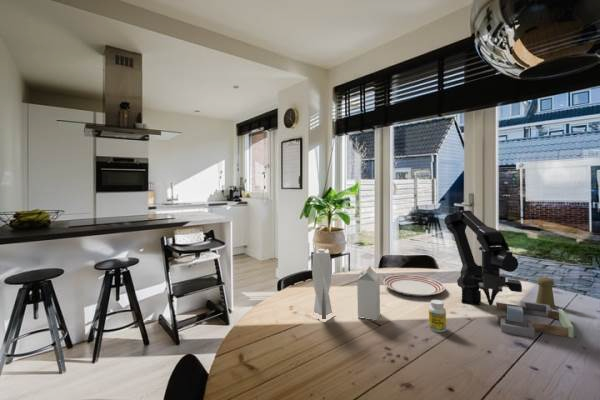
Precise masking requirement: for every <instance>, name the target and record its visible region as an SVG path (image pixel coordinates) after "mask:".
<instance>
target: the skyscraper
mask: <svg viewBox="0 0 600 400" xmlns="http://www.w3.org/2000/svg"><path fill="white" fill-rule="evenodd" d="M312 255H313V256H312V267H311V268H312V269H311V270H312V271H311V273H312V284H313V289H314V292H315V293H314V294H315V300H314V308H313V309H314V310H313V313H314V312H315V313H318V314H319V315H322V319H326V315H328V314H330V313H332V314H333V309H332V304H331V298H330V289H331V284H332V274H333V272H332V268H333V267H332V260H331V254H330V250H329V248H326V249H325V248H318V249H316V245H315V244H313V254H312Z"/></svg>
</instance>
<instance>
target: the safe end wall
mask: <svg viewBox="0 0 600 400" xmlns="http://www.w3.org/2000/svg"><path fill="white" fill-rule="evenodd" d="M558 312H559V319H558V320H559V322H560V325H561V327H566V328H568V329H569V332H568V337H567V338H572V339H573V338H574V329H575V328H574V326H573V324H572V322H571V321H570V319H569V317H568V316H567V314H566V312H565V311H564V309H562V308H558Z"/></svg>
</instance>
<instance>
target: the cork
mask: <svg viewBox="0 0 600 400" xmlns="http://www.w3.org/2000/svg"><path fill="white" fill-rule="evenodd" d="M537 285H538V289H537V294H536V295H537V296H536V301H535V303H539V304H546V305H549V306H550V308H551V309H555V308H556V305H555V297H554V292H553V291H554V290H553V287H554V285H555V282H554V280H553V279H552V278H549V277H539V278H537Z"/></svg>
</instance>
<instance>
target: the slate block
mask: <svg viewBox="0 0 600 400" xmlns="http://www.w3.org/2000/svg"><path fill="white" fill-rule="evenodd" d="M506 317H507V318H506V319H507V321H509V322H516V323H521V324H523V323H524V314H523V309H522V307H515V306H508V305H507V311H506Z"/></svg>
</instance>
